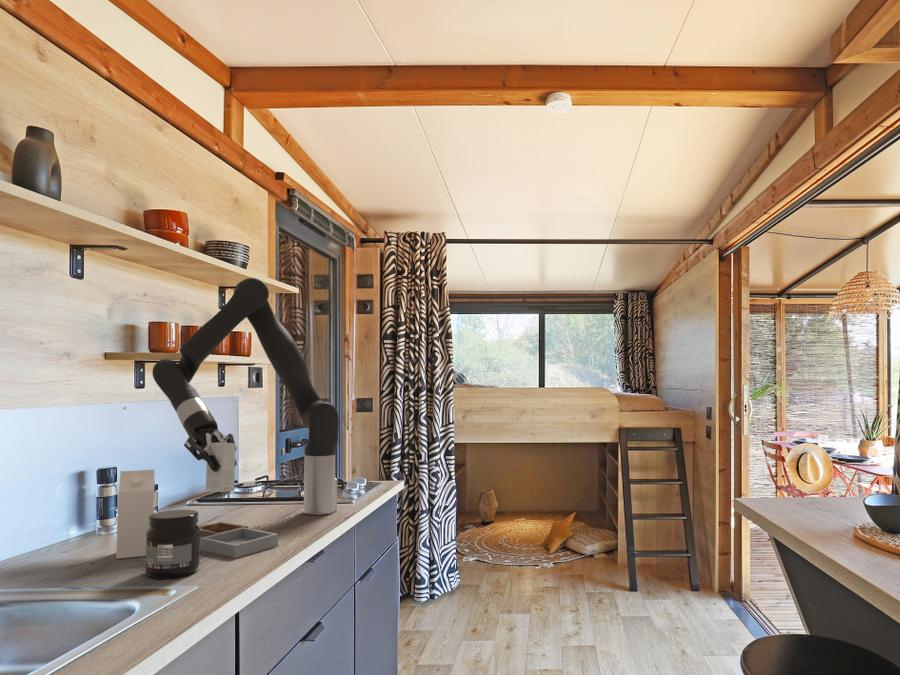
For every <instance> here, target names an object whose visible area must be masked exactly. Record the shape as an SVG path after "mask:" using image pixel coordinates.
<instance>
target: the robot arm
mask: <svg viewBox="0 0 900 675" xmlns="http://www.w3.org/2000/svg"><path fill="white" fill-rule="evenodd" d="M269 296H270V294H269V287H268V286H267V284H266V283H265V282H264V281H263V280H261V279H259V278H257V277H255V278H254V277H248V278H245V279H242V280H241V281H240V282H237V284H236V285H235V287H234V289H233V294H232V296H231V297H230V298H229V300H228V301H227V303H225V305H224V306H223V307H222V308H221V309H220V310H219V311H218V312H217V313H216V314H214V316H213V317H211V318H210V319H209V320H208V321H206V322H205V323H204V324H202V326H201V327H200V328H198V329H197V330H196V331H195V332H194V333H193V334H192V335H191V336H190V337H189V338H188V339H187V341H185V342H184V343H183V344H182V345H181V347H180V348H179V353H180V354H181V358H180V360H179V362H176V361H174V360H172V359H169V358H163V359H160V360H159V361H157V362H156V363H155V364H154V366H153V367H152V379H153V380H154V382H155V383H156V385H157V386H158V388H159V389H160V390H161V391H162V392H163V394H164V395H165V396H166V397H167V399H168V400H169V402H170V403H171V405H172V407H173V410H174V411H175V413H176V414H177V417H178V420H179V421H180V423H181V425H182V426H183V429H184V431H185V433H186V434H187V436H188V438H186V441H185V443H184V444H183V446H184V447H185V449H186V450H188V451H189V452H190V454H191V455H193V457H194V458H195V459H196V460H197V461H202V460H203V461H205V462H206V464H207V463H208V465H209V467H210V468H211V469H212V470H213V471H214V472H217V471H218V470H219V468H220V465H219V463H218V461H217V459H216V458H215V456H214V455H213V453H212V450H211V445H210V443H235V452H236V451H237V446H236V442H235V440H234V439H235V438H234V436H233V434H232V433H228V434H226V435H225V434H224V433H222V432H221V431H220V430H219V429H218V427H219V426H218V422H217V421H216V420H215V418H214V416H213V414H212V413H211V411H210V409H209V408H208V407H207V405H206V404H205V402H204V401H203V400H202V398H201V397H200V395H199V394H198V392H197V390H196V388H195V387H193V386H192V385H191V383H190V382H191V381H192V380H193V379H194V376H195V374H196V373H197V372H198V370H199V368H200V366H201V364H202V363H203V362H204V361H205V360H206V359H207V358H209V356H210V355H211V354H212V352H214V351H215V350H216V348H217V347H218V346H220V344H221V343H222V342H223V341H224V340H225V339H226V338H227V336H228V335H229V334H230V333H231V332H233V330H234V329H235V328H236V327H237V326H238V325H239V324H241V323H242V322H243V321H244V320H245V319H246V318H247V320H248V322H249V323H250V324H251V326H252V328H253V330H254V331H255V333H256V335H257V338H258V340H259V343H260V344H261V347H262V349H263V350H264V353H265V355H266V357H267V359H268V361H269V362H270V363H271V366H272V368H273V370H274V371H275V373H276V374H277V376H278V378H279V379H280V381H281V382H282V384H283V386H284V387H285V388H286V391H287V392H288V393H289V395H290V397H291V398H292V401H293V403H294V405H295V407H296V410H297V412H298V414H299V417H300V419H301V421H302V423H303V425H304V427H306V428H307V429H308V441H307V443H306V444H305V445H304V457H303V458H304V460H303V461H304V465H303V466H304V470H303V471H304V474H303V481H304V482H303V484H304V485H303V513H304V514H306V515H313V516H314V515H315V516H317V515H318V516H320V515H328V514H332V513H334V512H335V511H338V478H336V448H337V446H338V443H339V425H340V424H339V423H340V420H339V417H340V416H339V412H338V409H337V408H336V406H335V405H334V404H333V403H330V402H327V401H323V400H322V399H321V397H320V396H319V394H318V393H317V391H316V390H315V388H314V386H313V384H312V382H311V378H310V373H309V370H308V365H307V363H306V359H305V357H304V355H303V353H302V351H301V349H300V348H299V346H298V344H297V343H296V341H295V340H294V338H293V336H292V335H291V334H290V333H289V331H288V330H287V329H286V328H285V326H284V325H283V323H281V321H280V320H279V319H278V318H277V315H275V313H274V311H273V308H272V306H271V305H270V302H269ZM212 455H213V456H212ZM237 464H238V462H237V460H236V459H235V467H236V466H237Z"/></svg>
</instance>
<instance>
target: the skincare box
mask: <svg viewBox="0 0 900 675" xmlns="http://www.w3.org/2000/svg"><path fill="white" fill-rule="evenodd" d="M210 445H211V450H212V453H213V455H214V456H215V458H216V459H217V461H218V463H219V465H220V468H219V470H218V471H217V472H214V471H213V470H212V469H211V468H210V467H209V465H208V463H207V462H206V468H205V469H206V471H205V472H206V476H205V491H206V492H207V491H208V492H215V493H224V492H230V491H235V479H236V478H235V476H236V475H235V472H236V471H235V470H236V469H235V468H236V466H235V460H236V451H235V445H236V442H235V443H210ZM213 455H212V456H213Z"/></svg>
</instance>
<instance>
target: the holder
mask: <svg viewBox="0 0 900 675" xmlns="http://www.w3.org/2000/svg"><path fill="white" fill-rule="evenodd" d="M199 526H200V528H201V532H200V538H203V537H207V536H211V535H215V534H219V533H223V532H227V531H231V530H235V529H239V528H249V526H247V525H241V524H236V523H230V522H224V521H217V522H216V521H215V522H212V523H209V524H204V525H199Z"/></svg>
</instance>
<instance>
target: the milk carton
mask: <svg viewBox="0 0 900 675" xmlns="http://www.w3.org/2000/svg"><path fill="white" fill-rule="evenodd" d="M119 473H120V474H119V484H118V492H117V493H118V494H117V496H118V497H117V499H118V500H117V523H116V524H117V528H116V551H115V553H116V555H115V556H116V559H120V560H121V559H128V558H129V559H130V558H139V557H146V532H147V531H148V529H149V528H150V526H149V516H150V515H151V514H154V513H155V512H154V511H155V469H142V470H141V469H140V470H138V469H137V470H121V471H120V472H119Z"/></svg>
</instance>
